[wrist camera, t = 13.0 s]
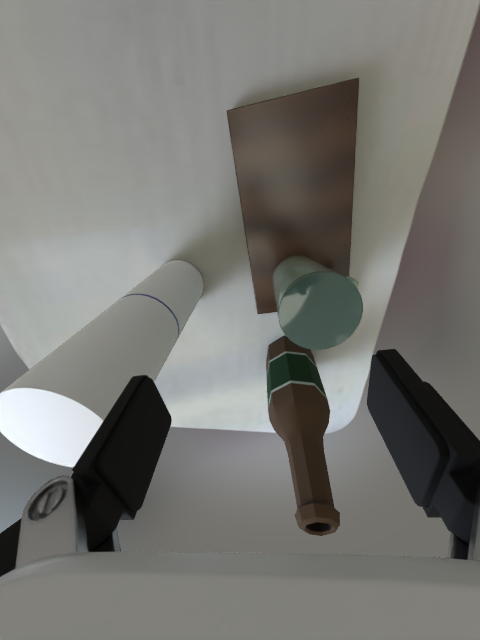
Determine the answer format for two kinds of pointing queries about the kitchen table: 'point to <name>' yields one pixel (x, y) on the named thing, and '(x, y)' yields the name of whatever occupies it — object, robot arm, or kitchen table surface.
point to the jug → (315, 303)
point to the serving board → (296, 180)
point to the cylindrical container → (98, 366)
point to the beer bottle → (302, 431)
